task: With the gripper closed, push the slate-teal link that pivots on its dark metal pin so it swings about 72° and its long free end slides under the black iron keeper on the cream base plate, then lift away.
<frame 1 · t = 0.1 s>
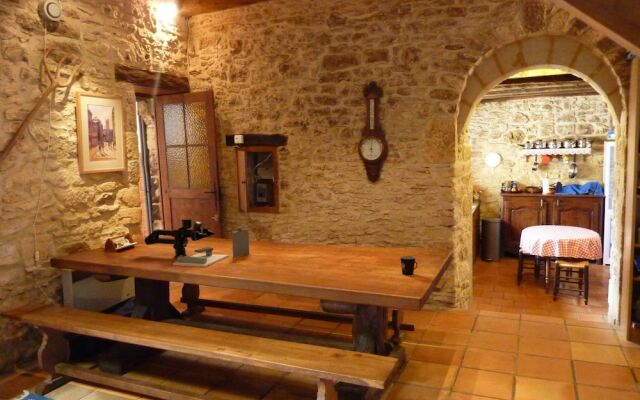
hand: (211, 234, 334), 17 cm above the table, tool horizontal, fingers open, 9 cm apart
hip flask: (240, 255, 344), on the table
iron keeper: (181, 263, 322), resting on cream base plate
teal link: (191, 258, 319), point 3 cm above the table, hinge at 0.0°
coffee mug: (408, 275, 283), on the table
cream base plate: (201, 260, 329), on the table
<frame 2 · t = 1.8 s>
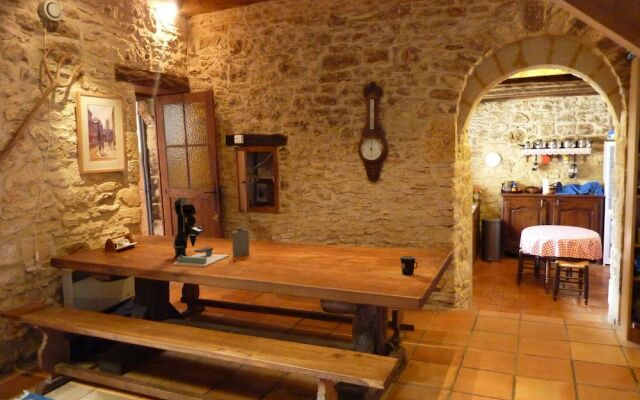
hand: (189, 247, 312), 12 cm above the table, tool pointing down, fingers open, 8 cm apart
nothing on the table moved.
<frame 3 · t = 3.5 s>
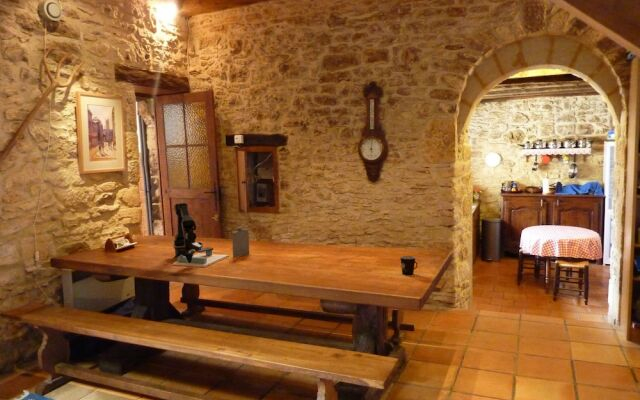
hand: (189, 262, 313), 2 cm above the table, tool pointing down, fingers closed
nothing on the table moved.
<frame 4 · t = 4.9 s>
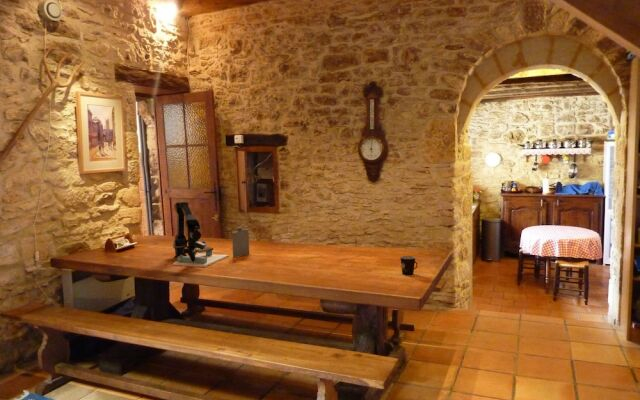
hand: (193, 261, 316), 2 cm above the table, tool pointing down, fingers closed
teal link: (192, 258, 320), point 3 cm above the table, hinge at 1.4°, touching gripper
everything else where it was.
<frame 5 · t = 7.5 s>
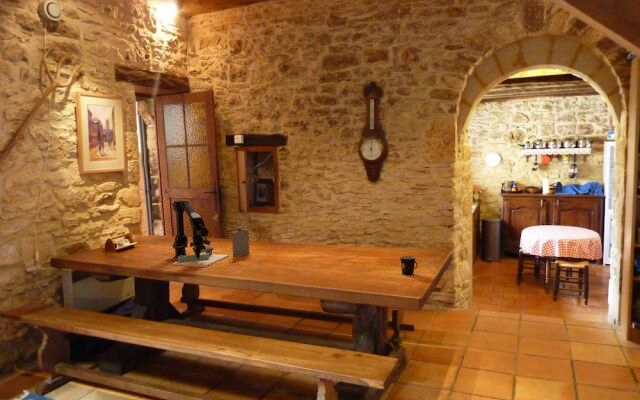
hand: (198, 258, 324), 3 cm above the table, tool pointing down, fingers closed
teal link: (193, 256, 325), point 3 cm above the table, hinge at 42.4°, touching gripper
everything else where it was.
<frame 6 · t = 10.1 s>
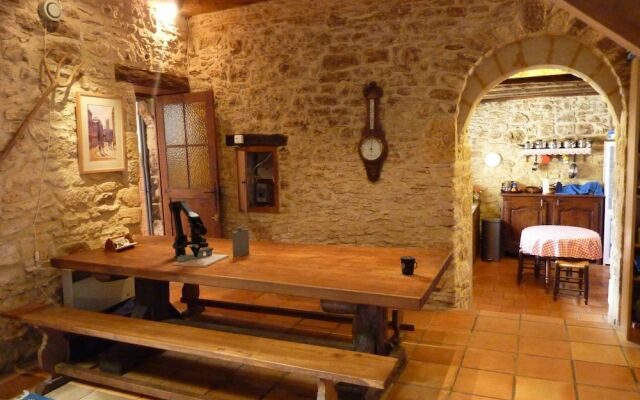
hand: (196, 256, 329), 3 cm above the table, tool pointing down, fingers closed
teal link: (190, 255, 328), point 3 cm above the table, hinge at 75.2°, touching gripper
everything else where it was.
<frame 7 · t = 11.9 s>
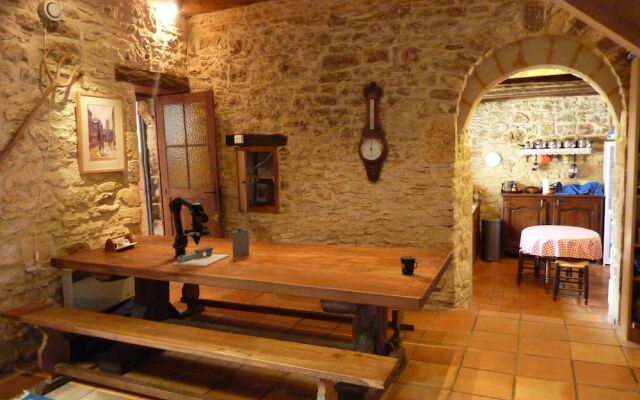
hand: (197, 244, 328), 11 cm above the table, tool pointing down, fingers closed
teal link: (190, 255, 328), point 3 cm above the table, hinge at 75.9°
everything else where it was.
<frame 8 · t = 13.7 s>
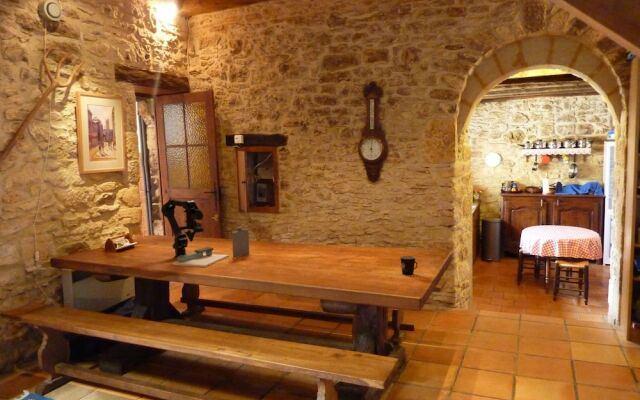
hand: (191, 241, 334), 12 cm above the table, tool pointing down, fingers closed
nothing on the table moved.
at the end: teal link at +76° (first picture: +0°); hip flask moved 0.3 cm from its start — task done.
